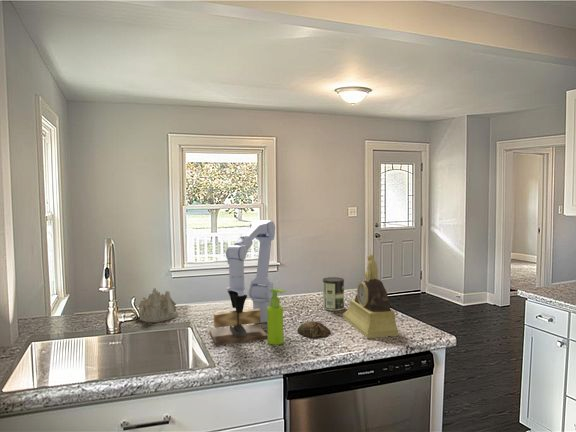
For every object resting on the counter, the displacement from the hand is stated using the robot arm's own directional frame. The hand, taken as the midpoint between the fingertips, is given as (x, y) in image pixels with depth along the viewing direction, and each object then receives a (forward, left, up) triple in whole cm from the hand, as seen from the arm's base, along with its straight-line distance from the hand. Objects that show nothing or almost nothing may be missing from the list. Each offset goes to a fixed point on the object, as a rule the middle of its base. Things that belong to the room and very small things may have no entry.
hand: (237, 310), depth 170 cm
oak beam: (0, 0, -6) cm, 6 cm away
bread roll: (-29, +8, -11) cm, 32 cm away
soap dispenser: (-12, +13, -10) cm, 20 cm away
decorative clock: (-53, +8, -10) cm, 55 cm away
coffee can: (-52, -23, -10) cm, 58 cm away
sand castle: (+29, -39, -10) cm, 50 cm away
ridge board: (0, 0, -10) cm, 10 cm away
